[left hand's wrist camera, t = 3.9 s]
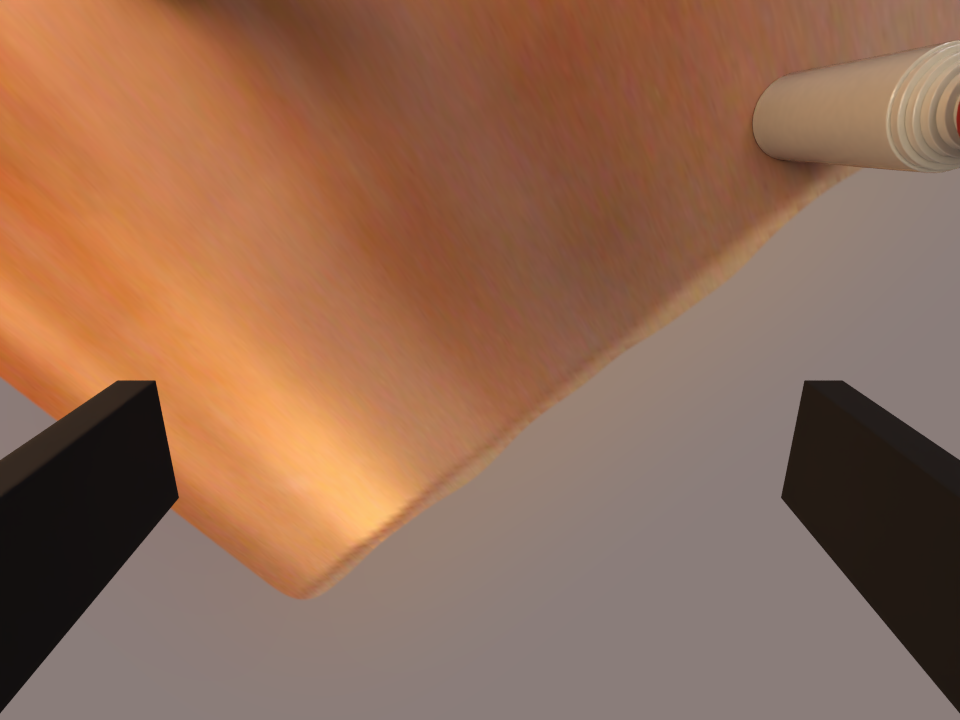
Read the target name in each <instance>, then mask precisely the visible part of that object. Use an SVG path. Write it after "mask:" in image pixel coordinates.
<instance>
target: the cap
mask: <svg viewBox="0 0 960 720" xmlns="http://www.w3.org/2000/svg"><path fill="white" fill-rule="evenodd" d="M956 124H957V132H958V135H959V138H960V101H959V105H958V109H957V116H956Z"/></svg>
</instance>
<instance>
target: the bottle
mask: <svg viewBox="0 0 960 720" xmlns="http://www.w3.org/2000/svg"><path fill="white" fill-rule="evenodd" d="M959 101H960V40H956V41H950V42H945V43H940V44H935V45H930V46H925V47H920V48H915V49H910V50H905V51H900V52H895V53H890V54H885V55H880V56H874V57H869V58H864V59H859V60H854V61H849V62H844V63H839V64H834V65H829V66H824V67H819V68H814V69H809V70H804V71H799V72H794V73H790V74H787V75H785V76H782V77H781V78H779V79H777V80H776V81H774V82H773V83H772V84H771V85H770V86H769V87H768V88H767V89H766V90H765V91H764V93H763V94H762V95H761V97H760V99H759V101H758V103H757V105H756V107H755V111H754V115H753V133H754V137H755V139H756V142H757V143H758V145H759V147H760V148H761V149H762V150H763V151H764V152H765V153H766V154H767V155H769V156H771V157H773V158H775V159H778V160H783V161H795V162H807V163H818V164H830V165H842V166H853V167H865V168H877V169H889V170H900V171H912V172H924V173H940V172H946V171H950V170H953V169H957V168H960V138H959V135H958V132H957V124H956V116H957V109H958V105H959Z"/></svg>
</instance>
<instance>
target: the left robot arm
mask: <svg viewBox="0 0 960 720" xmlns="http://www.w3.org/2000/svg"><path fill="white" fill-rule="evenodd" d="M178 498H179V496H178V491H177V486H176V481H175V476H174V471H173V466H172V461H171V456H170V451H169V446H168V441H167V436H166V431H165V426H164V421H163V416H162V411H161V406H160V401H159V396H158V391H157V386H156V381H116V382H115V383H113V384H112V385H110V386H109V387H107V388H106V389H104V390H103V391H102V392H100V393H99V394H97V395H96V396H94V397H93V398H91V399H90V400H88V401H87V402H85V403H84V404H82V405H81V406H79V407H78V408H76V409H75V410H74V411H72V412H71V413H69V414H68V415H66V416H65V417H63V418H62V419H60V420H59V421H57V422H56V423H54V424H53V425H51V426H50V427H48V428H47V429H46V430H44V431H43V432H41V433H40V434H38V435H37V436H35V437H34V438H32V439H31V440H29V441H28V442H26V443H25V444H23V445H22V446H21V447H19V448H18V449H16V450H15V451H13V452H12V453H10V454H9V455H7V456H6V457H4V458H3V459H2V460H0V713H1V712H2V710H3V709H4V708H5V707H6V706H7V704H8V703H9V702H10V701H11V700H12V698H13V697H14V696H15V695H16V694H17V692H18V691H19V690H20V689H21V688H22V686H23V685H24V684H25V683H26V682H27V680H28V679H29V678H30V677H31V675H32V674H33V673H34V672H35V671H36V669H37V668H38V667H39V666H40V665H41V663H42V662H43V661H44V660H45V659H46V657H47V656H48V655H49V654H50V653H51V651H52V650H53V649H54V648H55V646H56V645H57V644H58V643H59V642H60V640H61V639H62V638H63V637H64V636H65V634H66V633H67V632H68V631H69V630H70V628H71V627H72V626H73V625H74V624H75V622H76V621H77V620H78V619H79V618H80V616H81V615H82V614H83V613H84V612H85V610H86V609H87V608H88V607H89V606H90V604H91V603H92V602H93V601H94V599H95V598H96V597H97V596H98V595H99V593H100V592H101V591H102V590H103V589H104V587H105V586H106V585H107V584H108V583H109V581H110V580H111V579H112V578H113V577H114V575H115V574H116V573H117V572H118V570H119V569H120V568H121V567H122V566H123V565H124V563H125V562H126V561H127V560H128V558H129V557H130V556H131V555H132V554H133V552H134V551H135V550H136V549H137V548H138V546H139V545H140V544H141V543H142V542H143V540H144V539H145V538H146V537H147V536H148V534H149V533H150V532H151V531H152V530H153V528H154V527H155V526H156V525H157V523H158V522H159V521H160V520H161V519H162V517H163V516H164V515H165V514H166V513H167V511H168V510H169V509H170V508H171V507H172V505H173V504H174V503H175V502H176V501H177V499H178ZM781 498H782V499H783V501H784V502H785V503H786V504H787V505H788V507H789V508H790V509H791V510H792V511H793V513H794V514H795V515H796V516H797V517H798V519H799V520H800V521H801V522H802V523H803V525H804V526H805V527H806V528H807V530H808V531H809V532H810V533H811V534H812V536H813V537H814V538H815V539H816V540H817V542H818V543H819V544H820V545H821V546H822V548H823V549H824V550H825V551H826V552H827V554H828V555H829V556H830V557H831V558H832V560H833V561H834V562H835V563H836V564H837V566H838V567H839V568H840V569H841V571H842V572H843V573H844V574H845V575H846V577H847V578H848V579H849V580H850V581H851V583H852V584H853V585H854V586H855V587H856V589H857V590H858V591H859V592H860V593H861V595H862V596H863V597H864V598H865V599H866V601H867V602H868V603H869V604H870V606H871V607H872V608H873V609H874V610H875V612H876V613H877V614H878V615H879V616H880V618H881V619H882V620H883V621H884V622H885V624H886V625H887V626H888V627H889V628H890V630H891V631H892V632H893V633H894V634H895V636H896V637H897V638H898V639H899V640H900V642H901V643H902V644H903V645H904V646H905V648H906V649H907V650H908V651H909V653H910V654H911V655H912V656H913V657H914V659H915V660H916V661H917V662H918V663H919V665H920V666H921V667H922V668H923V669H924V671H925V672H926V673H927V674H928V675H929V677H930V678H931V679H932V680H933V682H934V683H935V684H936V685H937V686H938V688H939V689H940V690H941V691H942V692H943V694H944V695H945V696H946V697H947V698H948V700H949V701H950V702H951V703H952V704H953V706H954V707H955V708H956V709H957V710H958V712H959V713H960V460H959V459H957V458H956V457H954V456H953V455H951V454H950V453H948V452H947V451H945V450H944V449H942V448H941V447H939V446H938V445H937V444H935V443H934V442H932V441H931V440H929V439H928V438H926V437H925V436H923V435H922V434H920V433H919V432H917V431H916V430H914V429H913V428H912V427H910V426H909V425H907V424H906V423H904V422H903V421H901V420H900V419H898V418H897V417H895V416H894V415H892V414H891V413H889V412H888V411H886V410H885V409H884V408H882V407H881V406H879V405H878V404H876V403H875V402H873V401H872V400H870V399H869V398H867V397H866V396H864V395H863V394H861V393H860V392H858V391H857V390H856V389H854V388H853V387H851V386H850V385H848V384H847V383H845V382H844V381H804V386H803V391H802V396H801V401H800V406H799V411H798V416H797V421H796V426H795V431H794V436H793V441H792V446H791V451H790V456H789V461H788V466H787V471H786V476H785V481H784V486H783V491H782V496H781Z"/></svg>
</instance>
